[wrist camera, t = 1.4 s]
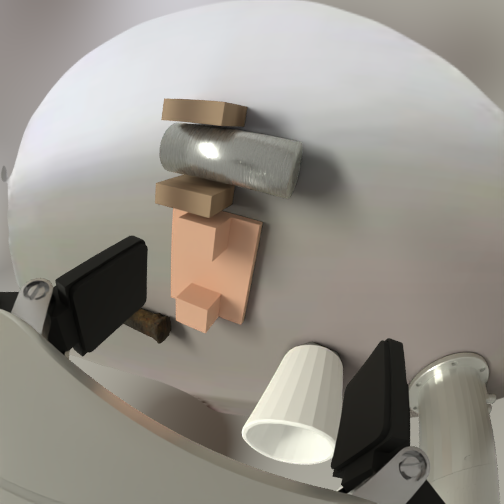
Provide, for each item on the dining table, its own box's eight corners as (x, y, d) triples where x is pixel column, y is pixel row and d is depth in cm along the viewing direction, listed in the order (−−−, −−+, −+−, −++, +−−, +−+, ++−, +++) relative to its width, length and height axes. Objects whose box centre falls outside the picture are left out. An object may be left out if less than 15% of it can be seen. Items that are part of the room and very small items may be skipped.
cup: (281, 383, 37) (251, 457, 26) (270, 331, 33) (230, 412, 22) (351, 387, 33) (336, 468, 22) (353, 332, 29) (340, 425, 19)
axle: (305, 144, 24) (296, 139, 19) (293, 195, 26) (282, 202, 21) (192, 124, 27) (164, 120, 22) (184, 170, 29) (156, 173, 24)
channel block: (247, 106, 24) (224, 102, 20) (232, 204, 28) (209, 218, 24) (193, 101, 25) (164, 98, 21) (182, 191, 30) (155, 203, 25)
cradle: (262, 222, 28) (246, 237, 24) (243, 320, 34) (229, 343, 30) (178, 199, 30) (153, 210, 26) (175, 293, 36) (155, 311, 32)
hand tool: (172, 313, 39) (154, 331, 35) (173, 332, 40) (156, 351, 36) (87, 272, 43) (69, 284, 39) (91, 290, 45) (74, 303, 41)
